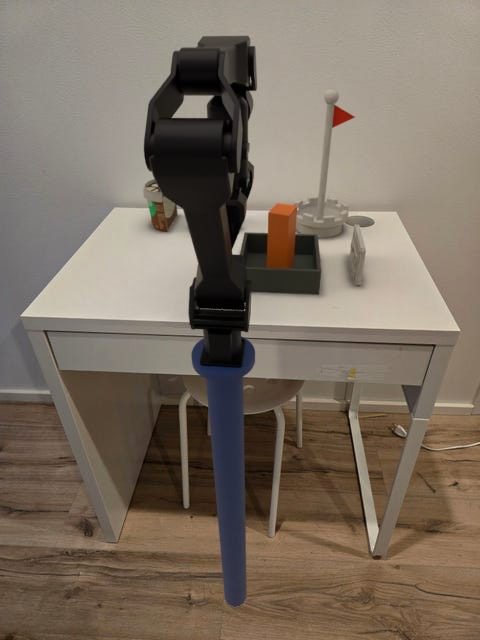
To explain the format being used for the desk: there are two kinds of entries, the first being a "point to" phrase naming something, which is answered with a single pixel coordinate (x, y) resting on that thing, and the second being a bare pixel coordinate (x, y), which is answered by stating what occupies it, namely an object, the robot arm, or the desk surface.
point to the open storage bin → (283, 279)
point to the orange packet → (281, 236)
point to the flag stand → (324, 184)
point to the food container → (159, 207)
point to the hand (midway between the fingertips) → (231, 238)
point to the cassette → (357, 255)
